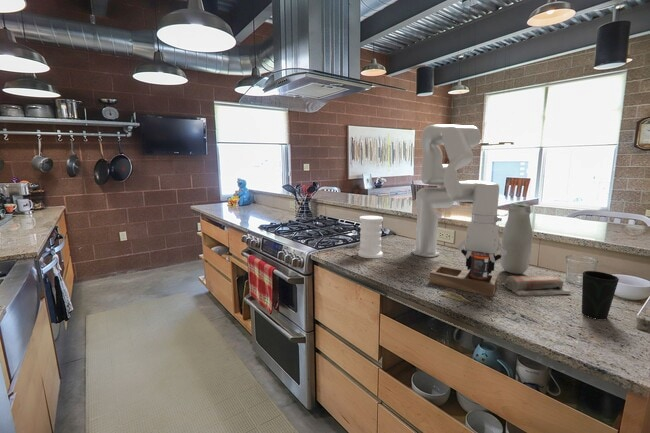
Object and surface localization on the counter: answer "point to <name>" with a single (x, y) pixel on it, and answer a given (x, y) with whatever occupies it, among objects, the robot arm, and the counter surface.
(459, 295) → the tongs
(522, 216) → the glass bottle
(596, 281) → the cup
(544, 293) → the packaged product
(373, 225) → the decorative container
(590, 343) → the counter surface
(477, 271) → the supplement bottle
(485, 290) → the rack
